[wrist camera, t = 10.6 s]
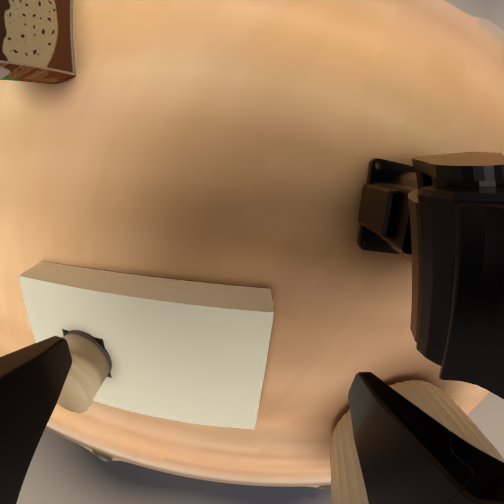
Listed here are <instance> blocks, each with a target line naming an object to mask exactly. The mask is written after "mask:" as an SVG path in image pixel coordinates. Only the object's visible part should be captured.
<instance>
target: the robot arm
mask: <svg viewBox="0 0 504 504" xmlns="http://www.w3.org/2000/svg"><path fill="white" fill-rule="evenodd" d="M412 160H413V166H414V167H411V166H408V165H404V164H400V163H396V162H391V161H387V160H383V159H372V160H371V161H370V164H369V172H368V180H367V184H366V185H365V186H364V188H363V195H362V201H361V208H360V214H359V222H360V223H361V226H360V232H359V237H358V246H359V247H360V248H361V249H363V250H369V251H378V252H387V253H396V254H401V255H403V256H404V257H405V258H407V259H408V260H410V261H411V262H412V312H411V331H412V334H413V336H414V339H415V341H416V342H417V346H416V348H417V350H418V351H419V352H420V353H421V354H422V355H423V356H424V357H426V358H427V359H429V360H431V361H432V362H434V363H436V364H438V365H440V366H441V371H440V375H439V377H440V379H442V380H456V381H464V382H468V383H471V384H475V385H478V386H480V387H482V388H485V389H487V390H488V391H490V392H492V393H494V394H496V395H497V396H499V397H501V398H503V399H504V156H503V155H502V154H501V153H488V152H466V153H454V154H444V155H434V156H425V157H416V158H412ZM376 162H377V163H378V164H379V168H378V169H376V168H375V163H376ZM364 240H367V244H365V245H363V241H364ZM71 365H72V356H71V353H70V350H69V346H68V342H67V340H66V339H65V338H62V337H59V336H53V337H50V338H48V339H45V340H43V341H40V342H38V343H35V344H33V345H30V346H27V347H25V348H22V349H20V350H17V351H15V352H12V353H10V354H7V355H5V356H2V357H0V504H16V502H17V499H18V496H19V493H20V490H21V486H22V484H23V481H24V478H25V476H26V473H27V470H28V468H29V465H30V462H31V460H32V458H33V455H34V452H35V450H36V448H37V445H38V443H39V441H40V438H41V436H42V434H43V431H44V429H45V427H46V425H47V423H48V421H49V419H50V416H51V414H52V412H53V410H54V408H55V406H56V404H57V402H58V399H59V397H60V394H61V391H62V389H63V386H64V383H65V381H66V378H67V376H68V373H69V371H70V368H71ZM348 400H349V407H350V414H351V421H352V429H353V437H354V442H355V446H356V450H357V454H358V458H359V463H360V467H361V471H362V475H363V480H364V484H365V489H366V493H367V498H368V503H369V504H504V462H502V461H500V460H498V459H496V458H494V457H492V456H491V455H489V454H487V453H485V452H483V451H481V450H480V449H478V448H476V447H475V446H473V445H471V444H470V443H468V442H467V441H465V440H463V439H462V438H460V437H459V436H458V435H456V434H455V433H453V432H452V431H449V429H448V428H446V427H445V426H443V425H442V424H441V423H439V422H438V421H436V420H435V419H434V418H432V417H431V416H429V415H428V414H427V413H425V412H424V411H422V410H421V409H420V408H418V407H417V406H416V405H414V404H413V403H412V402H410V401H409V400H407V399H406V398H405V397H403V396H402V395H401V394H399V393H398V392H397V391H395V390H394V389H393V388H391V387H390V386H388V385H387V384H386V383H384V382H383V381H382V380H380V379H379V378H378V377H376V376H375V375H374V374H372V373H371V372H359V373H357V374H356V376H355V378H354V380H353V383H352V385H351V388H350V390H349V394H348Z"/></svg>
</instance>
